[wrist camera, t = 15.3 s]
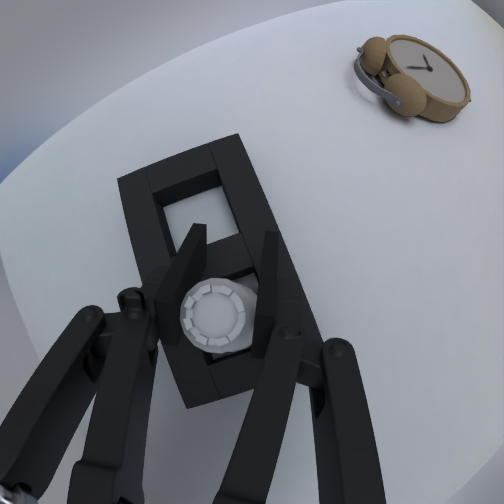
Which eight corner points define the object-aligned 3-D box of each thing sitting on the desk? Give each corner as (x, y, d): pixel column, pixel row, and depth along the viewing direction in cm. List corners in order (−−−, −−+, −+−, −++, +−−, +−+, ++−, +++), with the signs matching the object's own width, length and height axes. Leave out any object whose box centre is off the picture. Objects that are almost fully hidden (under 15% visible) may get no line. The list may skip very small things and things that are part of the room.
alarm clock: (486, 107, 24) (404, 99, 21) (463, 128, 29) (378, 131, 25) (435, 39, 26) (343, 20, 23) (418, 62, 31) (328, 52, 28)
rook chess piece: (269, 346, 20) (277, 362, 12) (201, 354, 19) (167, 374, 12) (259, 278, 20) (261, 252, 13) (193, 287, 20) (155, 267, 13)
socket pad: (195, 398, 22) (186, 409, 19) (130, 193, 25) (116, 178, 22) (320, 354, 22) (329, 359, 19) (240, 151, 26) (238, 132, 23)
